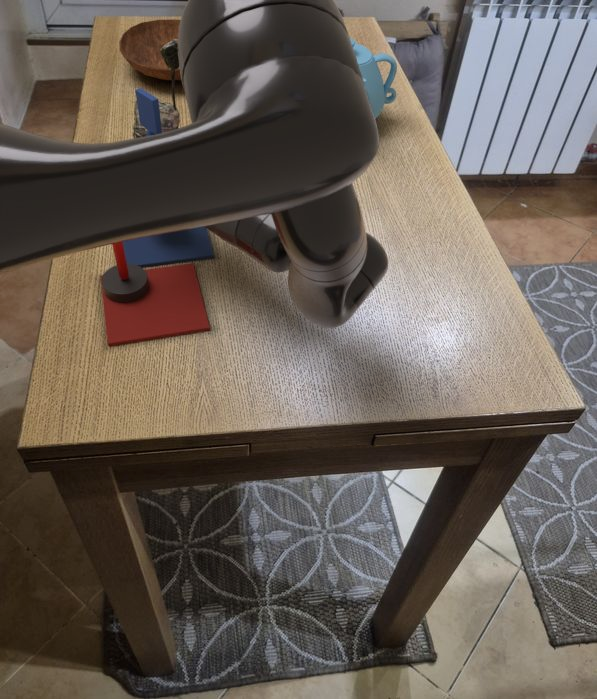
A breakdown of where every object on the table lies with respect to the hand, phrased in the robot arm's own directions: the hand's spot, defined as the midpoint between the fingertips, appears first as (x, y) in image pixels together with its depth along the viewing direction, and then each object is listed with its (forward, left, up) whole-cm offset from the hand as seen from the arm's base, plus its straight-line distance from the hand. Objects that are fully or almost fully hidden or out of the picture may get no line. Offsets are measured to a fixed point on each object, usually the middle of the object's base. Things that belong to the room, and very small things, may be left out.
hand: (139, 143), depth 77 cm
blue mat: (+1, -3, -13) cm, 13 cm away
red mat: (-2, -15, -13) cm, 20 cm away
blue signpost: (+2, -3, -8) cm, 9 cm away
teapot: (+35, +24, -13) cm, 44 cm away
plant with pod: (+4, +12, -13) cm, 18 cm away
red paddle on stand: (-5, -12, -12) cm, 18 cm away
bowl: (+10, +48, -13) cm, 50 cm away
